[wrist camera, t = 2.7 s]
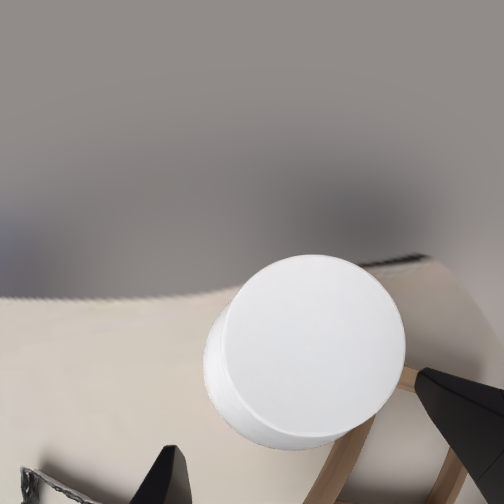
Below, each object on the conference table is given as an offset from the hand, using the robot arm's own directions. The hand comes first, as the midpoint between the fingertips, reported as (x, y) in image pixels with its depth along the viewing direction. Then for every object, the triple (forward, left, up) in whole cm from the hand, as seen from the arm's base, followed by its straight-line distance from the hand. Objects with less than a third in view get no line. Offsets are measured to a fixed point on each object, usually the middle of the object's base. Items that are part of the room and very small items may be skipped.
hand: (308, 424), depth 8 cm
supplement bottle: (+1, -2, -10) cm, 10 cm away
